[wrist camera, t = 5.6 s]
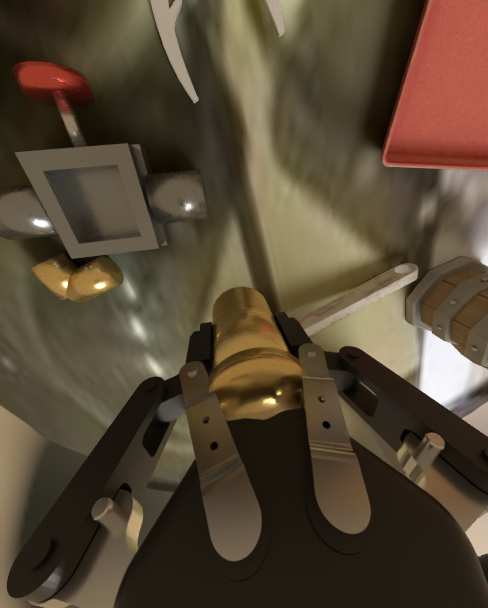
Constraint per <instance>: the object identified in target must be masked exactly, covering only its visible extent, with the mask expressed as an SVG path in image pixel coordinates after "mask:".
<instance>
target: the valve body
mask: <svg viewBox="0 0 488 608" xmlns="http://www.w3.org/2000/svg"><path fill="white" fill-rule="evenodd" d="M12 71H13V74H14V76H15V78H16V80H17V82H18V84H19V87H20V89H21V91H22V93H23V94H24V95H25V96H26V97H28V98H30V99H32V100H34V101H37V102H40V103H44V104H48V105H54V106H57V108H58V111H59V113H60V115H61V118H62V120H63V123H64V125H65V128H66V130H67V132H68V135H69V137H70V140H71V142H72V145H73V147H74V148H62V149H50V150H37V151H25V152H15V154H16V156H17V158H18V160H19V162H20V163H21V165H22V167H23V169H24V171H25V173H26V175H27V176H28V178H29V180H30V182H31V184H32V185H26V186H15V187H4V188H0V236H1V237H3V238H6V239H10V240H20V239H29V238H38V237H47V236H56V235H59V236H60V238H61V240H62V242H63V244H64V246H65V248H66V249H67V251H68V253H69V255H70V257H71V259H74V258H82V257H91V256H99V255H107V254H116V253H124V252H132V251H141V250H149V249H157V248H160V247H161V246H165V245H168V244H169V242H170V238H169V234H168V230H167V226H166V223H173V222H182V221H191V220H200V219H208V211H207V204H206V197H205V191H204V185H203V180H202V175H201V170H189V171H178V172H167V173H156V174H152V170H151V166H150V162H149V159H148V155H147V151H146V148H145V147H143V146H142V145H140V144H134V145H130V144H128V143H125V144H113V145H100V146H88V147H87V144H86V141H85V139H84V136H83V133H82V131H81V128H80V126H79V123H78V120H77V118H76V115H75V113H74V110H73V107H81V106H86V105H89V104H91V103H93V102H94V97H93V94H92V91H91V88H90V85H89V82H88V80H87V78H86V77H85V76H84V75H83V74H81V73H79V72H78V71H76V70H73V69H71V68H68V67H65V66H62V65H58V64H54V63H48V62H37V61H29V62H22V63H18V64H16V65H14V66H13V68H12Z"/></svg>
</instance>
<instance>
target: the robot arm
mask: <svg viewBox="0 0 488 608" xmlns="http://www.w3.org/2000/svg"><path fill="white" fill-rule="evenodd" d="M273 317H274V319H275V321H276V323H277V325H278V327H279V330H280V332H281V334H282V336H283V338H284V340H285V342H286V344H287V346H288V348H289V351H290V353H291V354H292V355H294V356H295V357H296V358H297V359H298V360H299V361H300V363H301V365H302V367H303V369H304V371H305V373H306V375H307V376H301V389H300V403H299V408H296V409H291V410H285V411H283V412H281V413H279V414H276V415H274V416H272V417H270V418H268V419H251V418H241V419H235V420H230V421H226V419H225V417H224V414H223V411H222V409H221V406H220V404H219V401H218V398H217V396H216V393H215V391H212V392H210V393H209V375H210V374H211V372H212V329H213V326H212V322H208V323H201V325H200V331H196V332H193V334H192V335H191V336H190V340H189V346H188V352H187V358H186V364H185V365H184V366H183V367H182V368H181V369H180V371H179V374H178V375H176V376H174V377H172V378H170V379H167V380H165V381H164V380H163V379H162V378H161V377H151V378H148V379H146V380H145V381H143V382H142V383H141V384H140V385H139V386H138V388H137V389H136V390H135V392H134V393H133V395H132V396H131V397H130V399H129V400H128V402H127V403H126V404H125V406H124V407H123V409H122V410H121V411H120V413H119V414H118V416H117V417H116V418H115V420H114V421H113V423H112V424H111V425H110V427H109V428H108V430H107V431H106V432H105V434H104V435H103V437H102V438H101V439H100V441H99V442H98V444H97V445H96V446H95V448H94V449H93V451H92V452H91V453H90V455H89V456H88V457H87V459H86V460H85V462H84V463H83V464H82V466H81V467H80V469H79V470H78V471H77V473H76V474H75V476H74V477H73V478H72V480H71V481H70V483H69V484H68V485H67V487H66V488H65V490H64V491H63V493H62V494H61V495H60V497H59V498H58V500H57V501H56V502H55V504H54V505H53V506H52V508H51V509H50V511H49V512H48V513H47V515H46V516H45V518H44V519H43V520H42V522H41V523H40V524H39V526H38V527H37V529H36V530H35V531H34V533H33V534H32V536H31V537H30V539H29V540H28V541H27V543H26V544H25V545H24V547H23V548H22V550H21V551H20V553H19V554H18V556H17V558H16V559H15V561H14V563H13V565H12V567H11V570H10V573H9V576H8V580H7V591H8V593H9V595H10V596H11V597H14V598H17V599H22V600H26V601H28V602H29V603H30V604H33V605H36V606H41V607H45V608H488V554H484V555H481V556H480V557H481V558H480V557H479V556H478V557H477V554H476V552H475V550H474V548H473V546H472V544H471V542H470V540H469V539H468V537H467V535H466V534H465V532H466V531H467V529H468V528H469V527H470V526H471V525H472V524H473V523H474V522H475V520H476V519H477V518H479V517H481V516H483V515H484V514H485V513H487V512H488V437H487V436H486V435H484V434H483V433H481V432H480V431H478V430H477V429H476V428H474V427H473V426H471V425H470V424H468V423H467V422H465V421H464V420H462V419H461V418H460V417H458V416H457V415H455V414H454V413H452V412H451V411H449V410H448V409H446V408H445V407H444V406H442V405H441V404H439V403H438V402H436V401H435V400H433V399H432V398H430V397H429V396H428V395H426V394H425V393H423V392H422V391H420V390H419V389H417V388H416V387H415V386H413V385H412V384H410V383H409V382H407V381H406V380H404V379H403V378H401V377H400V376H399V375H397V374H396V373H394V372H393V371H391V370H390V369H388V368H387V367H385V366H384V365H383V364H381V363H380V362H378V361H377V360H375V359H374V358H372V357H371V356H369V355H368V354H367V353H365V352H364V351H362V350H361V349H359V348H356V347H352V346H346V347H343V348H341V349H340V351H339V353H334V352H326V351H323V349H322V348H321V347H320V346H318V345H316V344H313V343H312V341H311V340H310V338H309V337H308V335H307V334H306V332H305V331H304V329H303V328H302V327H301V324H300V323H299V321H297V320H296V319H294V318H293V317H292V318H288V317H287V315H286V313H285V312H277V313H274V314H273ZM184 414H186V416H187V421H188V425H189V430H190V435H191V440H192V445H193V450H194V454H195V460H194V461H193V463H192V465H191V466H190V468H189V469H188V471H187V473H186V474H185V476H184V477H183V479H182V481H181V482H180V484H179V485H178V487H177V489H176V490H175V492H174V493H173V495H172V497H171V498H170V500H169V502H168V503H167V505H166V506H165V508H164V509H163V511H162V512H161V514H160V516H159V517H158V519H157V520H156V522H155V524H154V525H153V527H152V528H151V530H150V532H149V533H148V535H147V536H146V538H145V540H144V541H143V543H142V544H141V546H140V548H139V549H138V547H137V541H138V534H139V531H140V527H141V524H142V520H143V510H142V507H141V505H140V503H139V502H140V500H141V498H142V495H143V493H144V491H145V489H146V487H147V485H148V482H149V480H150V478H151V476H152V474H153V471H154V469H155V467H156V465H157V462H158V460H159V458H160V456H161V454H162V451H163V449H164V447H165V445H166V442H167V440H168V438H169V436H170V434H171V431H172V429H173V427H174V425H175V422H176V420H177V418H178V417H180V416H182V415H184Z"/></svg>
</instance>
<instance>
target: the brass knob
mask: <svg viewBox="0 0 488 608" xmlns="http://www.w3.org/2000/svg"><path fill="white" fill-rule="evenodd" d="M212 326H213V329H212V372H211V374H210V375H209V393H210V392H212V391H215V393H216V396H217V398H218V401H219V404H220V406H221V409H222V411H223V414H224V417H225V419H226V421H230V420H235V419H241V418H251V419H268V418H270V417H272V416H274V415H276V414H279V413H281V412H283V411H285V410H291V409H296V408H299V403H300V389H301V376H307V375H306V373H305V371H304V369H303V367H302V365H301V363H300V361H299V360H298V359H297V358H296V357H295V356H294V355H292V354H291V353H290V351H289V348H288V346H287V344H286V342H285V340H284V338H283V336H282V334H281V332H280V330H279V327H278V325H277V323H276V321H275V319H274V317H273V315H272V313H271V311H270V308H269V306H268V304H267V302H266V300H265V298H264V297H263V296H262V295H261V294H260V293H259V292H258V291H256V290H254V289H251V288H248V287H236V288H232V289H230V290H227V291H226V292H224V293H223V294H221V295H220V296H219V297H218V299H217V300H216V302H215V304H214V307H213V324H212Z"/></svg>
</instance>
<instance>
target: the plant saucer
mask: <svg viewBox="0 0 488 608" xmlns="http://www.w3.org/2000/svg"><path fill="white" fill-rule="evenodd" d="M381 159H382V163H383V165H384V166H387V167H413V168H436V169H458V170H460V169H461V170H483V171H488V0H425V4H424V7H423V11H422V14H421V18H420V21H419V24H418V28H417V31H416V35H415V38H414V42H413V45H412V48H411V52H410V55H409V59H408V62H407V65H406V69H405V72H404V76H403V79H402V83H401V86H400V89H399V93H398V96H397V100H396V103H395V106H394V110H393V113H392V117H391V120H390V124H389V127H388V130H387V134H386V138H385V141H384V144H383V149H382V154H381Z"/></svg>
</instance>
